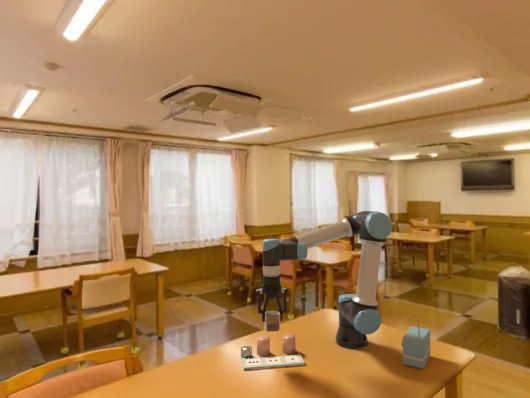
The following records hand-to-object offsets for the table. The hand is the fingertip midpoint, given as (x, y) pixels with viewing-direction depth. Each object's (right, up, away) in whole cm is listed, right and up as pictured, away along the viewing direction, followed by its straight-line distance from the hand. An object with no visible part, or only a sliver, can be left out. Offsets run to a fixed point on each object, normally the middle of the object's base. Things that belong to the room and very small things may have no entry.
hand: (272, 328), depth 150 cm
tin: (-12, -15, +6) cm, 20 cm away
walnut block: (0, 0, 0) cm, 0 cm away
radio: (+62, -14, -1) cm, 63 cm away
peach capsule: (+8, -15, +11) cm, 20 cm away
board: (0, -15, 0) cm, 15 cm away
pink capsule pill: (-4, -15, +9) cm, 18 cm away
